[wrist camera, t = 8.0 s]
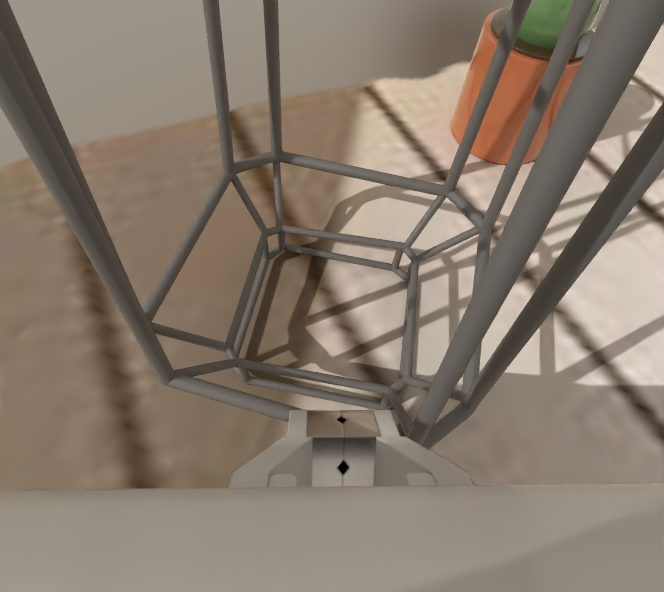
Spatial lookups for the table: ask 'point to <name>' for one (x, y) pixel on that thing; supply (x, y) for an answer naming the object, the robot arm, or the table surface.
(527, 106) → the succulent pot
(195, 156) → the table surface
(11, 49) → the geometric lantern
